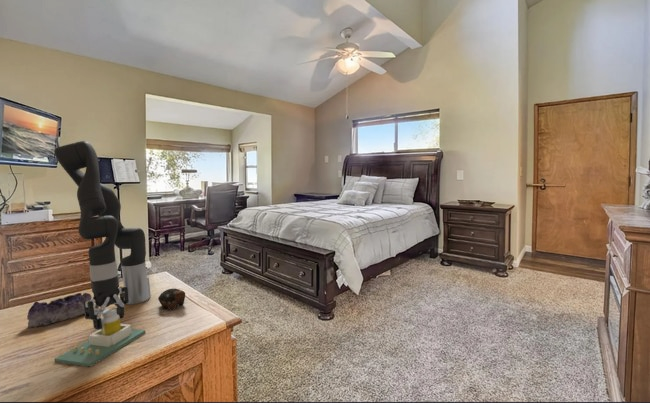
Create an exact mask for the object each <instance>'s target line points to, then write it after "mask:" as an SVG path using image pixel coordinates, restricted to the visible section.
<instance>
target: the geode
mask: <svg viewBox="0 0 650 403" xmlns="http://www.w3.org/2000/svg"><path fill="white" fill-rule="evenodd" d="M92 299H93V297H92V295H91V293H89V292H88V293H87V292H83V294H82V292H77V293H75V294H71V295H67V296H65V297H63V298H62V297H60V298H56V299H53V300H51V301H50V302H49V303H47V302H46V301H43V302H38V301H34V303H33V304H32V306H31V307H30V308H29V310H28V312H27V318H26V319H27V320H28V322H27V328H28V329H34V328H35V327H36V328H43V327H45V326H48V325H51V324H55V323H57V322H62V321H66V320H69V319H74V318H76V317H79V316H82V315H85V311H84V304H83V303H84V301H89V300H92Z"/></svg>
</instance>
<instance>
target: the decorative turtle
mask: <svg viewBox="0 0 650 403" xmlns="http://www.w3.org/2000/svg"><path fill="white" fill-rule="evenodd" d="M157 299H158V301H159V304H160V305H161V307H162V308H163V309H164V310H166V309H169V310H170V311H174V310H175V309H176V307H177V306H181V307H182V306H183V305H184V304H185V299H186V292H185V291H184V290H182V289H180V288H169V289H166V290H164V291H162V292H161V293H160V294H159V296H158V298H157Z"/></svg>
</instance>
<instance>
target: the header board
mask: <svg viewBox="0 0 650 403" xmlns="http://www.w3.org/2000/svg"><path fill="white" fill-rule="evenodd" d="M120 325H121V330H119V331H117V332H116V333H114V334H112V335H110V336H105V335H102V331H101V329H100V330H96V331H94V332H92V333H91V334H90V335H89V336H88V339H89V340H87V341H85V342H83V343H82V344H79V345H78V346H77V345H75V346H73V348H72V349H70V350H69V351H66V352H64V353H63V354H60V355H58V356H56V357H55V358H54V362H55V363H63V364H67V363H68V365H73V364H75V365H74V366H79V365H84V366H83V367H86V366H91V365H92V366H94V365H95V364H94V363H96V362H97V363H98V361H99V360H101V359H102V360H103V358H104V359H106V358H108V357H109V356H111V354H113V353H116V352H117V351H119V350H120V349H122V348H124V347H125V346H127V345H129V344H130V343H131V342H134V341H135V340H136V339H138V338H140V337H142V336H143V335H144V334H146V330H144V329H136V328H132V324H128V323H126V324H125V323H120ZM102 360H101V361H102ZM99 362H100V361H99ZM97 363H96V364H97ZM93 364H94V365H93ZM92 366H91V367H92Z"/></svg>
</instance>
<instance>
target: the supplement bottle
mask: <svg viewBox="0 0 650 403" xmlns="http://www.w3.org/2000/svg"><path fill="white" fill-rule="evenodd" d="M116 308H117V307H110V308H105V310H104V311H103V312H102V314H101V317H102V318H101V321H102V329H101V331H102V335H105V336H110V335H112V334H114V333H116V332H117V331H119V330H121V325H120V324H121V319H120V317H119V315H118V314H117V311H116Z"/></svg>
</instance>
